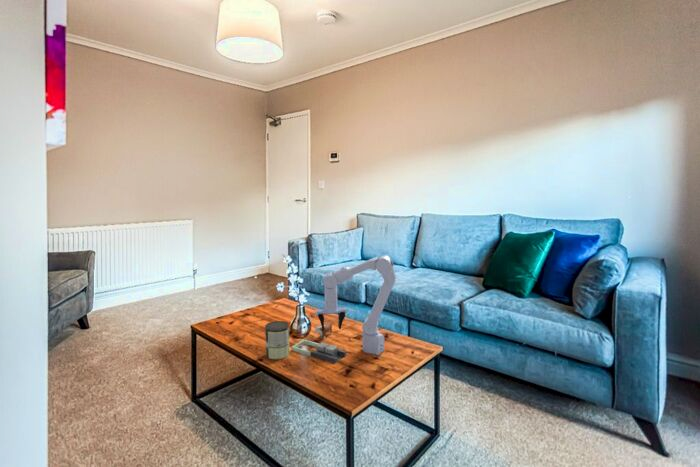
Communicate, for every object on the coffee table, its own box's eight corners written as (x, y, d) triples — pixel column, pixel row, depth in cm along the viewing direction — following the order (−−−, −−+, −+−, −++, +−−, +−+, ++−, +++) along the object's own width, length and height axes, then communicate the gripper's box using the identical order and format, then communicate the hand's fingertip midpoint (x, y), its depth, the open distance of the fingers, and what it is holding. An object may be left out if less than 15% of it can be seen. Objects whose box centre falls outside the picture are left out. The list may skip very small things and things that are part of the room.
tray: (322, 349, 169) (322, 344, 168) (310, 357, 161) (310, 352, 161) (304, 344, 174) (304, 339, 174) (291, 351, 167) (291, 346, 166)
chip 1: (329, 353, 163) (329, 344, 163) (324, 356, 160) (323, 347, 160) (322, 351, 166) (322, 342, 165) (316, 354, 162) (316, 345, 162)
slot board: (346, 356, 162) (346, 351, 161) (334, 365, 154) (334, 359, 154) (322, 349, 169) (322, 344, 168) (310, 357, 161) (310, 351, 161)
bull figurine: (312, 342, 176) (312, 326, 175) (327, 333, 188) (327, 317, 187) (320, 344, 174) (320, 328, 173) (334, 334, 186) (334, 319, 185)
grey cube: (337, 355, 161) (337, 346, 161) (332, 359, 158) (332, 350, 157) (330, 353, 163) (330, 344, 163) (324, 356, 160) (324, 348, 159)
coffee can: (260, 356, 162) (260, 325, 160) (279, 348, 170) (278, 319, 168) (276, 363, 155) (275, 331, 154) (294, 355, 163) (294, 324, 162)
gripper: (344, 296, 173) (344, 324, 175) (313, 298, 170) (314, 327, 171) (348, 301, 166) (348, 330, 168) (316, 303, 163) (316, 333, 164)
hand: (331, 329), depth 169 cm, fingers open, 7 cm apart
